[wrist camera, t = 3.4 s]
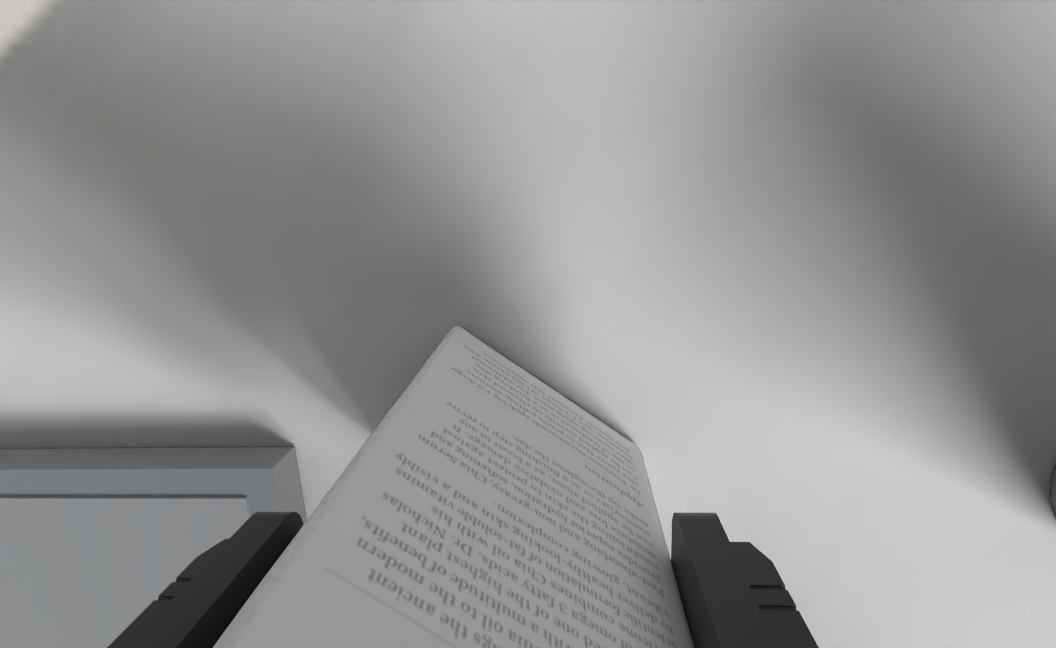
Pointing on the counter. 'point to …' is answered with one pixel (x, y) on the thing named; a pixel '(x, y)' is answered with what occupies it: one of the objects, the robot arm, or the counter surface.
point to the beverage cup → (1053, 490)
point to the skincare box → (476, 529)
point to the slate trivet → (119, 530)
